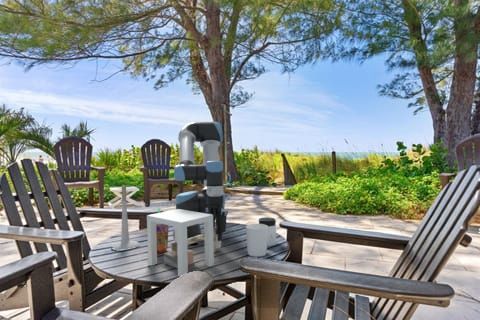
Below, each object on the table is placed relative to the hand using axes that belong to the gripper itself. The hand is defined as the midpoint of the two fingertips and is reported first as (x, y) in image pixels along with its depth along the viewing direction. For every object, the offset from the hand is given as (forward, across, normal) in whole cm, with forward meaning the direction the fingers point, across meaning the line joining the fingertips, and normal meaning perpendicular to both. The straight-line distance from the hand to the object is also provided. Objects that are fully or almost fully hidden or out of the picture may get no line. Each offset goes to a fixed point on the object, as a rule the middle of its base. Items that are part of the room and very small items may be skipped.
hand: (215, 246), depth 135 cm
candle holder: (+2, +16, +9) cm, 19 cm away
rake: (+2, 0, -11) cm, 11 cm away
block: (+2, 0, -18) cm, 18 cm away
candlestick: (+2, -39, -21) cm, 45 cm away
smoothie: (+2, -20, -15) cm, 26 cm away
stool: (+2, 0, -20) cm, 20 cm away
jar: (+2, +12, +23) cm, 26 cm away
